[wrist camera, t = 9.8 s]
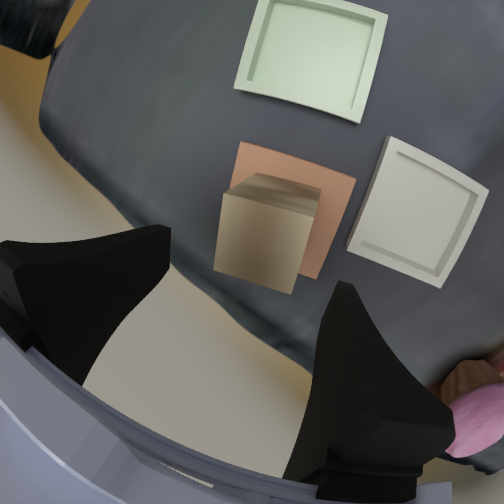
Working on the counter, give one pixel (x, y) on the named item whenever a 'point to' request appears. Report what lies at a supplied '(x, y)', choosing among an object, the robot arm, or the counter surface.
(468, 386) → the cupcake
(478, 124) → the counter surface
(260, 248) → the brown block
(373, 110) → the counter surface
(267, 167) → the terracotta pad
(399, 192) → the light grey tray
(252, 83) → the sage green tray
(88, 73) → the counter surface
